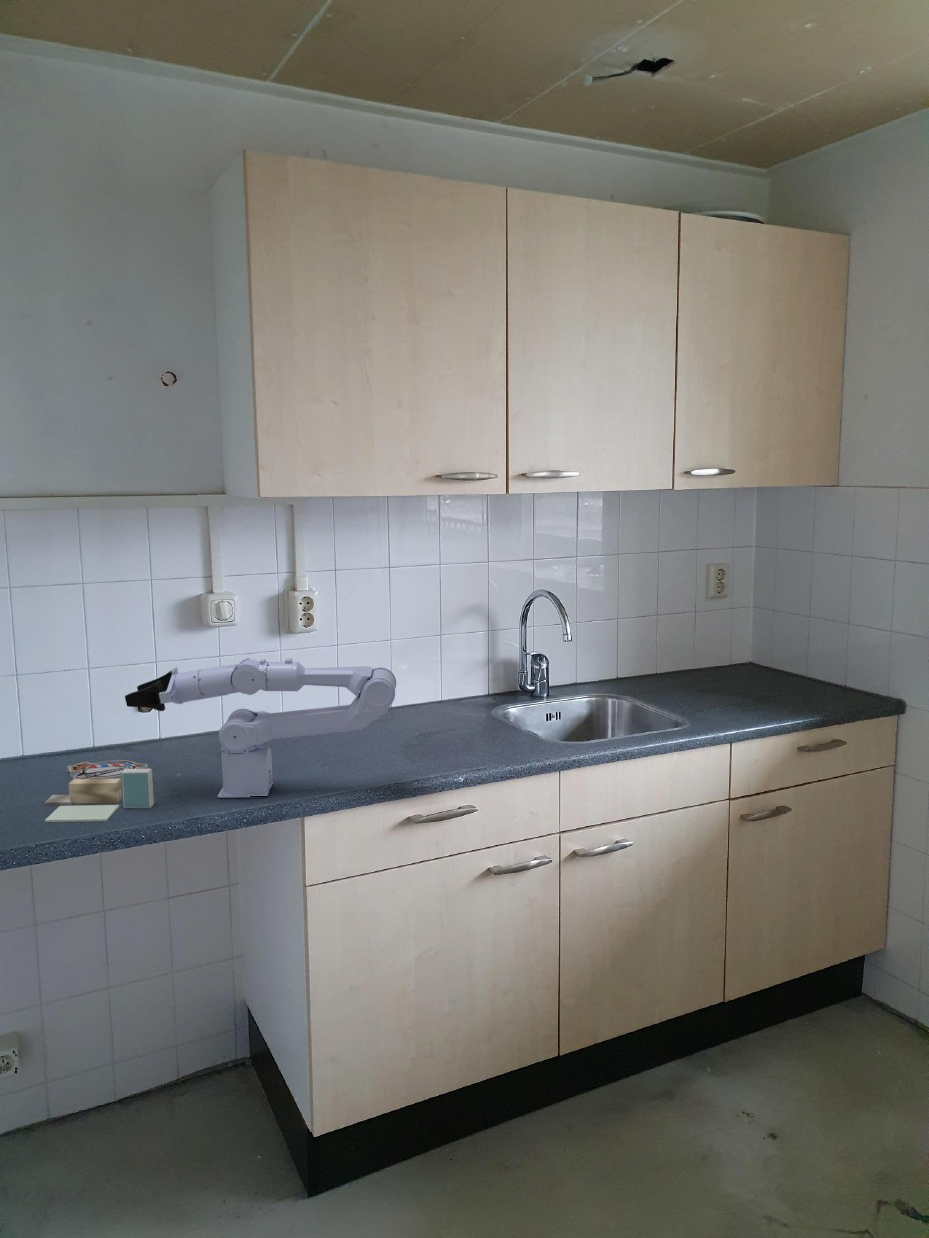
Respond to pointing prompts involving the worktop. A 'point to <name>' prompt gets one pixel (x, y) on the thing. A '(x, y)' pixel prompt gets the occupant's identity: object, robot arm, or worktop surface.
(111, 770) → the emblem
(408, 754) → the worktop surface
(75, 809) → the pad
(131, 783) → the tile
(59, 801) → the wooden handled scraper
